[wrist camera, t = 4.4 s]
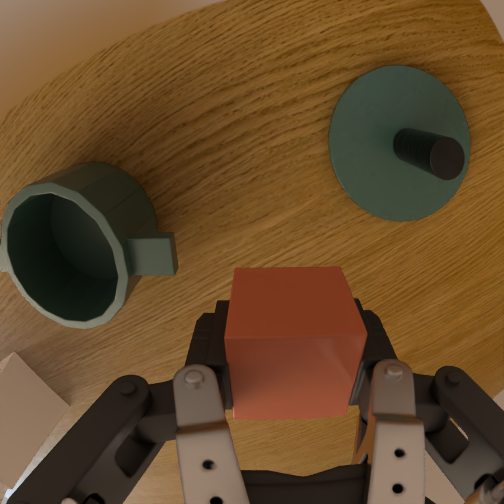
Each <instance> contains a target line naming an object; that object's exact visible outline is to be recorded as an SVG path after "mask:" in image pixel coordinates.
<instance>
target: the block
mask: <svg viewBox="0 0 504 504" xmlns="http://www.w3.org/2000/svg"><path fill="white" fill-rule="evenodd" d="M366 339H367V331H366V328H365V326H364V323H363V320H362V318H361V315H360V313H359V310H358V308H357V305H356V303H355V301H354V298H353V296H352V293H351V291H350V288H349V286H348V284H347V281H346V279H345V277H344V274H343V272H342V270H341V267H284V268H235V271H234V277H233V284H232V290H231V297H230V303H229V310H228V316H227V323H226V330H225V337H224V340H225V349H226V359H227V362H228V369H229V378H230V387H231V396H232V405H233V409H232V411H233V418H234V419H235V420H286V419H309V418H324V417H337V416H345V415H346V412H347V408H348V405H349V401H350V397H351V394H352V391H353V387H354V384H355V380H356V376H357V373H358V369H359V365H360V361H361V358H362V355H363V351H364V347H365V343H366Z"/></svg>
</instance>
